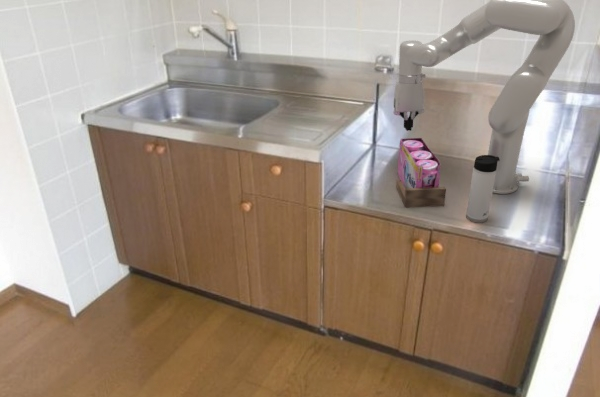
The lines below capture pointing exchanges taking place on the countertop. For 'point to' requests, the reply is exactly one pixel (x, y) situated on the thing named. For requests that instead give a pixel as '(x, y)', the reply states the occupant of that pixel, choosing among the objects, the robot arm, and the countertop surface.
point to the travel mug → (481, 188)
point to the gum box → (417, 164)
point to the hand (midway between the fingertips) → (408, 129)
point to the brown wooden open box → (421, 195)
